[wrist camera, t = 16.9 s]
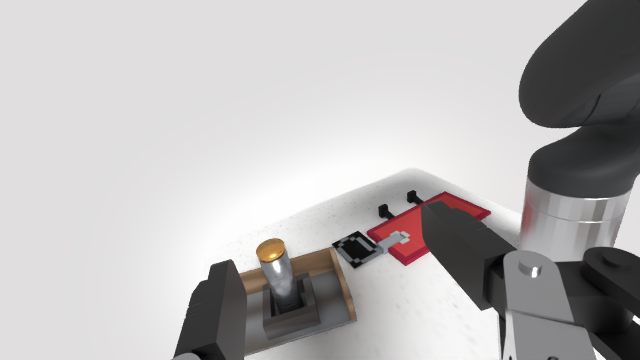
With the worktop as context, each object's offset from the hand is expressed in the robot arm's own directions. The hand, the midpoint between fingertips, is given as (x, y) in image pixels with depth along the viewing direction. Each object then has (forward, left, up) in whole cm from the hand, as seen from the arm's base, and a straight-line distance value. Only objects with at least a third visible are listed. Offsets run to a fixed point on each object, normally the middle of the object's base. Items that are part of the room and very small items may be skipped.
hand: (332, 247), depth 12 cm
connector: (-12, -22, -30) cm, 39 cm away
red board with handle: (-38, -12, -31) cm, 51 cm away
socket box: (-12, -22, -30) cm, 39 cm away
